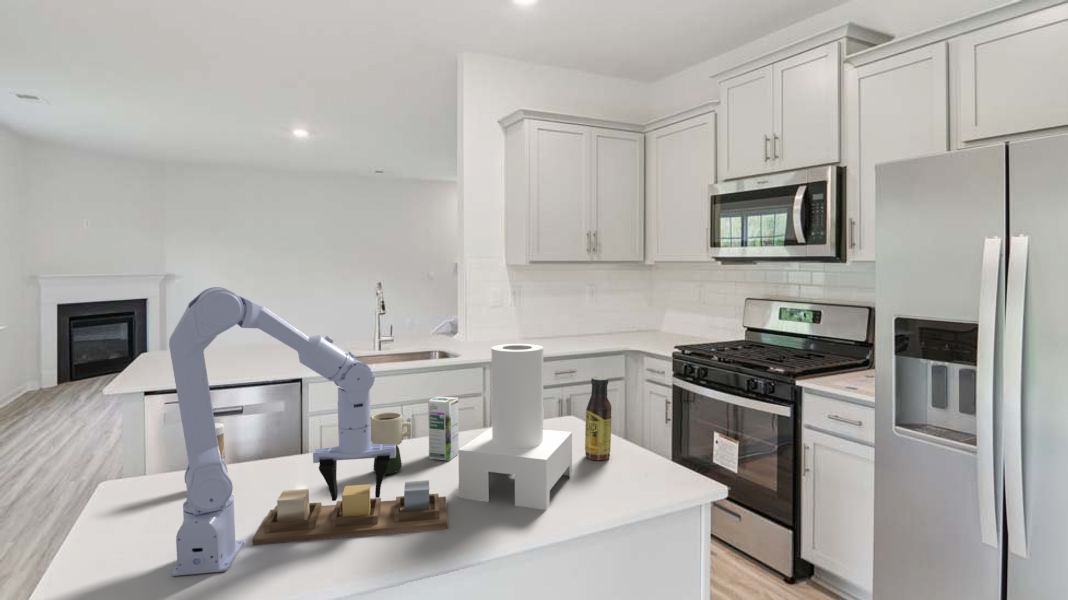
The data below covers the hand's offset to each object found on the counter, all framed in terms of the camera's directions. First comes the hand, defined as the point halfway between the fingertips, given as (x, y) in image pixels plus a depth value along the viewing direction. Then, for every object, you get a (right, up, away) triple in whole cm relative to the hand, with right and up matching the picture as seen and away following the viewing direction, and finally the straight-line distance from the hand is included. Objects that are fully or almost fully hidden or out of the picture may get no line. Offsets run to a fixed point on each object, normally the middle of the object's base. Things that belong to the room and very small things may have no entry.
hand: (356, 497), depth 108 cm
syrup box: (+11, -2, +36) cm, 37 cm away
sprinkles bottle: (-36, -4, +17) cm, 40 cm away
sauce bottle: (+49, -2, +35) cm, 60 cm away
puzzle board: (0, -5, 0) cm, 5 cm away
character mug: (-1, -3, +26) cm, 26 cm away
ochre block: (0, -4, 0) cm, 4 cm away
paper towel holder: (+29, -4, +17) cm, 34 cm away
